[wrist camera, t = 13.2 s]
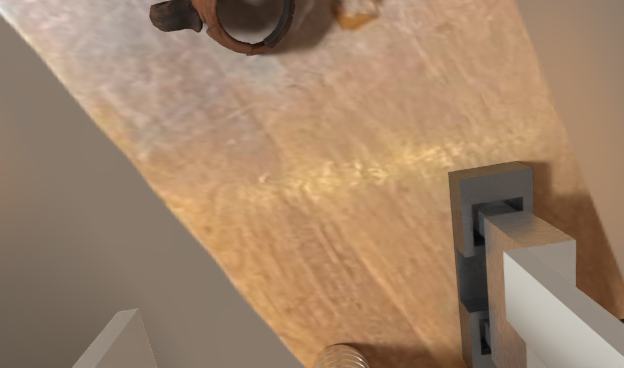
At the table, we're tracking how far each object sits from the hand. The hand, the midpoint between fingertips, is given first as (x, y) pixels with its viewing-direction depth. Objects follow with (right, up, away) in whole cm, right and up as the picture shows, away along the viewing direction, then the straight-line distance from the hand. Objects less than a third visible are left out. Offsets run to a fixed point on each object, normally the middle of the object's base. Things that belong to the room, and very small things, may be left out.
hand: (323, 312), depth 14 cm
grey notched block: (+19, -5, +29) cm, 35 cm away
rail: (+19, -5, +29) cm, 35 cm away
